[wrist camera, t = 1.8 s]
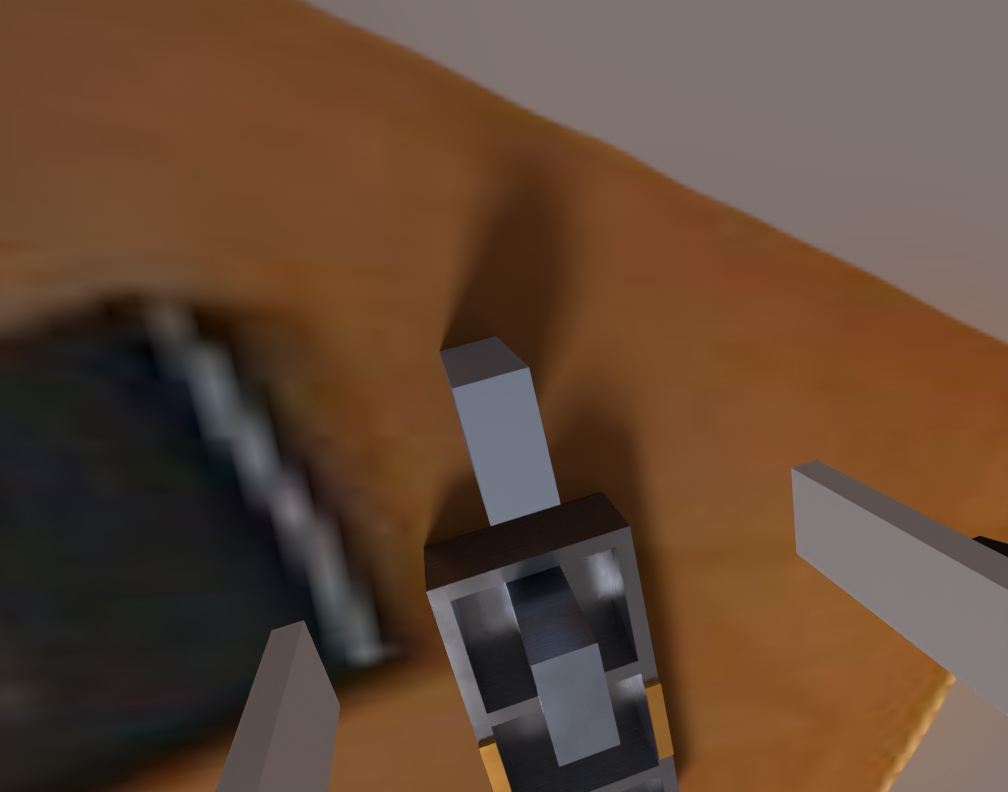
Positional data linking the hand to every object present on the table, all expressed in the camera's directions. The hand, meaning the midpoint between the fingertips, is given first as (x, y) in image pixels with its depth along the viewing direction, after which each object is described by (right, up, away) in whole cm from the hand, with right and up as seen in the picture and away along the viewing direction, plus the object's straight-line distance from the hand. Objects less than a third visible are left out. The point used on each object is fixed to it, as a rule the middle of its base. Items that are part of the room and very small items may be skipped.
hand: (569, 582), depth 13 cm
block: (-3, +5, +16) cm, 17 cm away
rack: (+2, -16, +22) cm, 27 cm away
